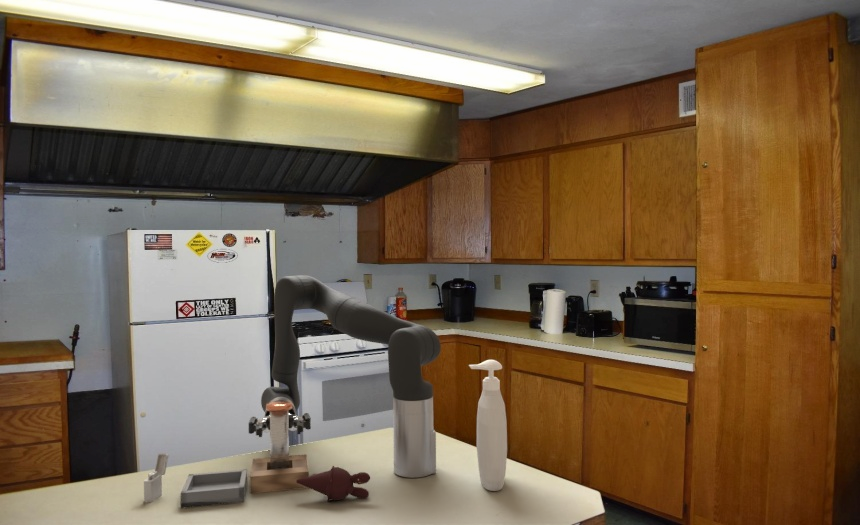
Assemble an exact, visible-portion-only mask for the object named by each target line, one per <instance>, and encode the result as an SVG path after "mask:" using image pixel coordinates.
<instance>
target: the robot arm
mask: <svg viewBox="0 0 860 525" xmlns="http://www.w3.org/2000/svg"><path fill="white" fill-rule="evenodd" d="M273 299H274V300H273V301H274V302H273V303H274V305H273V306H274V307H273V308H274V310H273V311H274V332H275V333H274V334H275V335H274V338H275V339H274V340H275V341H274V342H275V343H274V354H273V360H272V368H271V378H272V379H273V380H274V381H275V382H276V383H279V384H282V385H285V386H287V387H283V386H282V387H280V386H269V387H267V388H266V389H264V390H263V392H262V394H261V398H260V405H261V409H262V410H263V412H264V417H263V418H262V419H258V417H256V416H251V417H250V418H249V421H248V434H250V435H251V434H255V436H258V438H262V437H263V433H264V434H268V433H270V411H267V410H266V404H268V403H271V402H278V401H287V402H291V403H292V409H290V410H288V412H289V431H291V432H295V431H296V433H297V435H301V433H303V432H304V429H305V430H307V431H309V430H311V428H312V426H311V416H310V414H309V413H307V412H306V413H303V414H302V415H301V416H298V415H297V414H296V412H297V411H298V410H299V408H300V405H301V399H300V398H301V397H300V392H299V386H298V373H299V367H300V366H299V365H300V360H301V359H300V358H301V351H300V345H299V343H298V339H297V337H296V335H295V332H294V328H293V316H294V312H295V311H297V310H304V309H305V310H306V309H310V310H316V311H318V312H320V313H322V314H325V315H326V317H327V319H328V321H329V323H330V325H331V326H332V327H333V328H334V329H335V330H337V331H338V332H341V333H343V334H345V335H347V336H348V337H351V338H354V339H357V340H360V341H365V342H371V343H376V344H382V345H386V346H387V347H388V348H387V357H388V359H387V361H388V376H389V384H390V386H391V390H392V396H393V397H392V401H393V403H392V408H393V410H392V412H393V413H392V414H393V415H392V416H393V420H392V421H393V424H392V425H393V426H392V427H393V473H394V474H395V475H397V476H400V477H404V478H412V479H413V478H421V477H422V478H423V477H427V476H429V475H432V474H437V433H436V430H435V429H434V387H433V384H432V383H431V382H430V381H427V380H424V379H423V376H422V367H423V366H426V365H428V364H431V363H432V362H434V361H435V360H436V359H437V358H438V357H439V355H440V353H441V350H442V349H441V348H442V347H441V342H440V341H441V340H440V339H439V337H438V335H437V334H436V332H434V331H433V329H431V328H429V327H427V326H425V325H422V324H418V323H415V322H411V321H408V320H405V319H401V318H399V317H397V316H394V315H392V314H390V313H388V312H386V311H384V310H382V309H379V308H378V307H375V306H373V305H371V304H369V303H367V302H366V301H362V300H360V299H358V298H356V297H353V296H351V295H348V294H347V293H343V292H342V291H339V290H335V289H334V288H332V287H330V286H328V285H326V284H325V283H324V282H321V281H320V280H319V279H317V278H315V277H313V276H310V275H307V274H305V275H304V274H301V275H289V276H288V275H287V276H286V275H285V276H282V277H281V278H279V280H278V281H277V282H276V284H275V287H274V296H273Z"/></svg>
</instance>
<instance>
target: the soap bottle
mask: <svg viewBox="0 0 860 525" xmlns="http://www.w3.org/2000/svg"><path fill="white" fill-rule="evenodd" d="M468 367H469V368H470V369H471V370H484V371H488V376H485V377H484V379H482V392H481V395H480V398H479V400H478V403H477V413H476V456H477V465H478V473H479V478H480V482H481V484H482V486H483V488H484V489H486V490H487V491H492V492H495V491H496V492H497V491H500V490H502V488H503V487H504V484H505V480H506V479H505V477H506V472H507V459H508V458H507V457H508V456H507V455H508V432H507V431H508V428H507V427H508V426H507V412H506V404H505V401H504V399H503V396H502V392H501V389H500V388H501V385H500V383H501V382H500V381H501V380H500V379H499V378H498V377H496V376H494V374H495V372H494V371H499V370H502V369H503V365H502V363H500V362H499V361H497V360H496V359H487V360H484V361H482V362H481V363H478V364H477V363H476V364H468Z"/></svg>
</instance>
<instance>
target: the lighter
mask: <svg viewBox="0 0 860 525" xmlns="http://www.w3.org/2000/svg"><path fill="white" fill-rule="evenodd" d="M168 461H169V454H167V453H158V454H157V458H156V461H155V462H156V463H155V468H154V471H151V472H150V473H148V477H147V478H146V479H144V480H143V502H144V503H153V502H154V501H156V500H157V499H159V497H161V496H162V495H163V490H162V489H163V485H162V480H163V478H162V476H165V475H166V471H167V466H168Z"/></svg>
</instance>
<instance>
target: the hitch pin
mask: <svg viewBox="0 0 860 525" xmlns="http://www.w3.org/2000/svg"><path fill="white" fill-rule="evenodd" d="M290 409H292V403H291V402H287V401H278V402H271V403H268V404H266V410H267V411H270V432H269V433H270V434H269V440H270V441H269V444H270V445H269V446H270V447H269V448H270V450H269V452H270V453H269V455H270V456H269V457H270V468H271V470H274V469H286V468H289V456H290V437H289V436H290V435H289V431H290V430H289V412H288V410H290Z"/></svg>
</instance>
